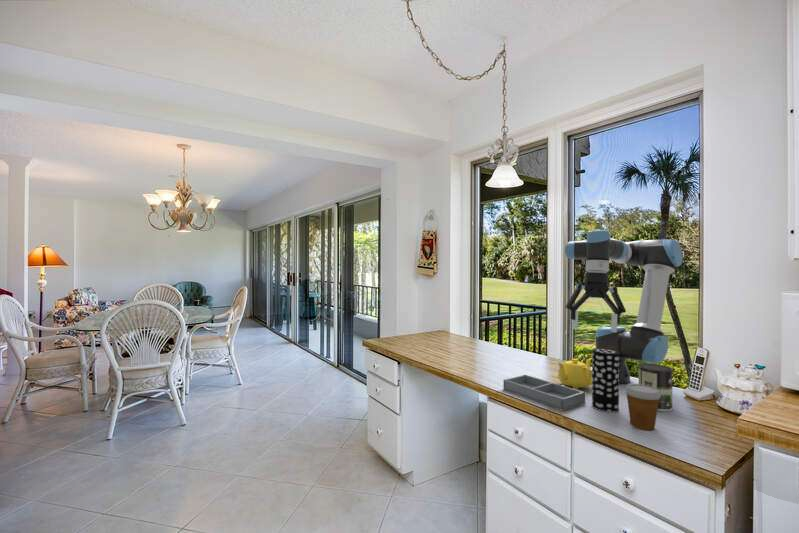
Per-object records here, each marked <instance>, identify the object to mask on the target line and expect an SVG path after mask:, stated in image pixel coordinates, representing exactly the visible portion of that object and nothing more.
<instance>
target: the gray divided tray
mask: <svg viewBox="0 0 799 533" xmlns="http://www.w3.org/2000/svg"><path fill="white" fill-rule="evenodd" d="M503 391H506V392H509V393H511V394H515V395H517V396H519V397H523V398H526V399H527V400H532V401H535V402H537V403H540V404H543V405H546V406H549V407H551V408H554V409H557V408H558V409H557V410H559V409H561V410H560V411H562V410H564V411H567V410H570V409H572V407H573V408H575V407H578V406H581V405H583V404H586V392H585V391H582V390H576V389H573V387H572V388H571V387H570V386H562V384H558V383H555V382H552V381H548V380H545V379H541V378H537V377H534V376H532V375H528V374H522V375H518V376H514V377H511V378H510V377H508V378H505V379H503ZM569 408H570V409H569ZM566 409H567V410H566Z"/></svg>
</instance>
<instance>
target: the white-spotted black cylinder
mask: <svg viewBox="0 0 799 533" xmlns="http://www.w3.org/2000/svg"><path fill="white" fill-rule="evenodd" d="M591 354H592V357H591V358H592V360H591V361H592V363H591V365H592V368H591V371H592V385H591V389H592V390H591V406H592V407H593V408H594V407H595V408H594V409H596V408H597V409H596V410H599V409H600V410H599V411H602V410H603V412H608V411H610V412H611V413H612V412H613V411H615V412H618V411H619V408H620V407H619V406H620V400H619V399H620V397H619V396H620V383H619V352H618V351H615V350H610V349H596V348H593V349H592V353H591Z"/></svg>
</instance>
